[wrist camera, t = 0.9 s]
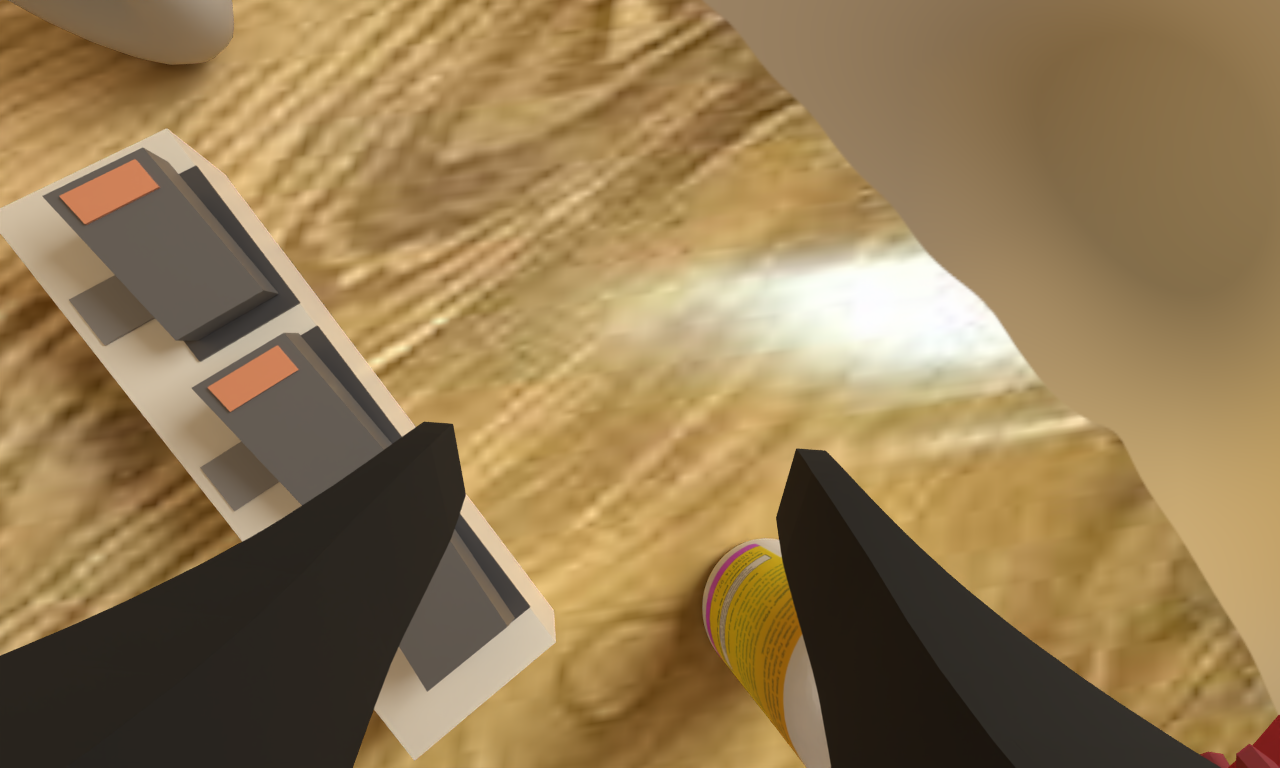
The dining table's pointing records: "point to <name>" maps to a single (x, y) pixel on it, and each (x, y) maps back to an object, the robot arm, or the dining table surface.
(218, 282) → the rocker
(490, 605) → the block
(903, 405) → the dining table surface
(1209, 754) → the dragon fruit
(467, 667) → the rocker switch panel
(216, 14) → the grey round disc
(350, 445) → the rocker
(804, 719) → the supplement bottle
